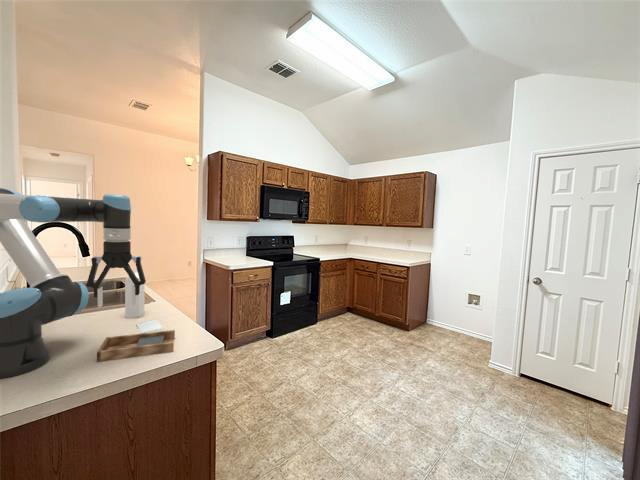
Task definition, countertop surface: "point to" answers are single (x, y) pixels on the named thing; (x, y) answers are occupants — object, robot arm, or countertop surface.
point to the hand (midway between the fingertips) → (117, 305)
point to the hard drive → (149, 326)
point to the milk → (130, 309)
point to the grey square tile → (151, 340)
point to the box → (134, 346)
